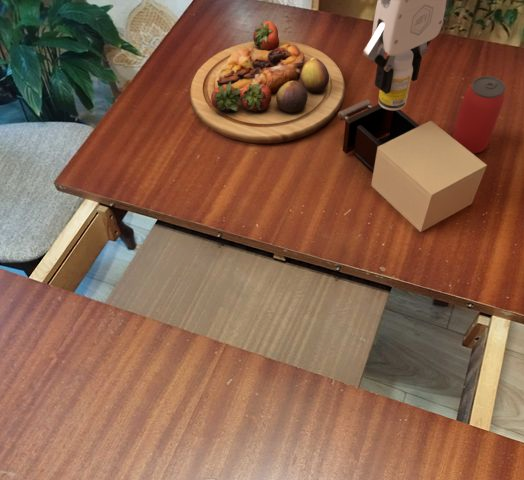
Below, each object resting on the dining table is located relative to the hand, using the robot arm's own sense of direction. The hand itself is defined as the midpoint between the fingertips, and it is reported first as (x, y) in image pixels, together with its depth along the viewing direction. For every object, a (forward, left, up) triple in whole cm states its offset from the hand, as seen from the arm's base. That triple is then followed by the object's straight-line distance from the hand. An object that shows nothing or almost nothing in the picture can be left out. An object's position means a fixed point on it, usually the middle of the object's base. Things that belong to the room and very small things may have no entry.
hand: (395, 81), depth 88 cm
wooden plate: (+7, -29, -16) cm, 34 cm away
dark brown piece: (0, -1, -15) cm, 15 cm away
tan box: (0, +11, -16) cm, 19 cm away
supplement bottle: (0, 0, -4) cm, 4 cm away
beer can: (-16, +6, -16) cm, 23 cm away
